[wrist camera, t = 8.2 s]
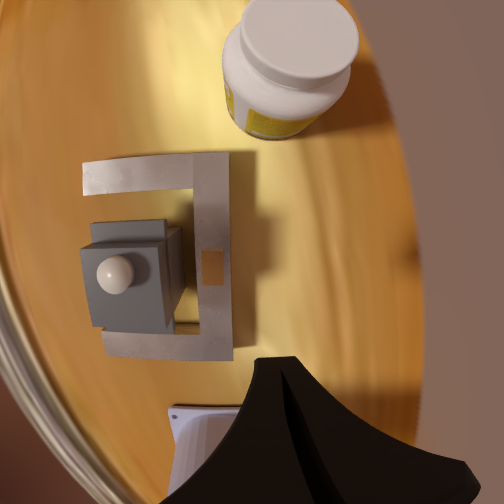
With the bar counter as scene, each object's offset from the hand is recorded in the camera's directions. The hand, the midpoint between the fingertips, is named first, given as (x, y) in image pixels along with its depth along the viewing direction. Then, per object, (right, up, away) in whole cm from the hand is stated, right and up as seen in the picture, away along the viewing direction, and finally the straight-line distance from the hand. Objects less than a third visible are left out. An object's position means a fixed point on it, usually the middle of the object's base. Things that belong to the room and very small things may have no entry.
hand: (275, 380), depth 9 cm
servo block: (-7, +4, +10) cm, 13 cm away
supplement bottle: (0, +14, +8) cm, 16 cm away
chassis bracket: (-7, +4, +9) cm, 12 cm away
